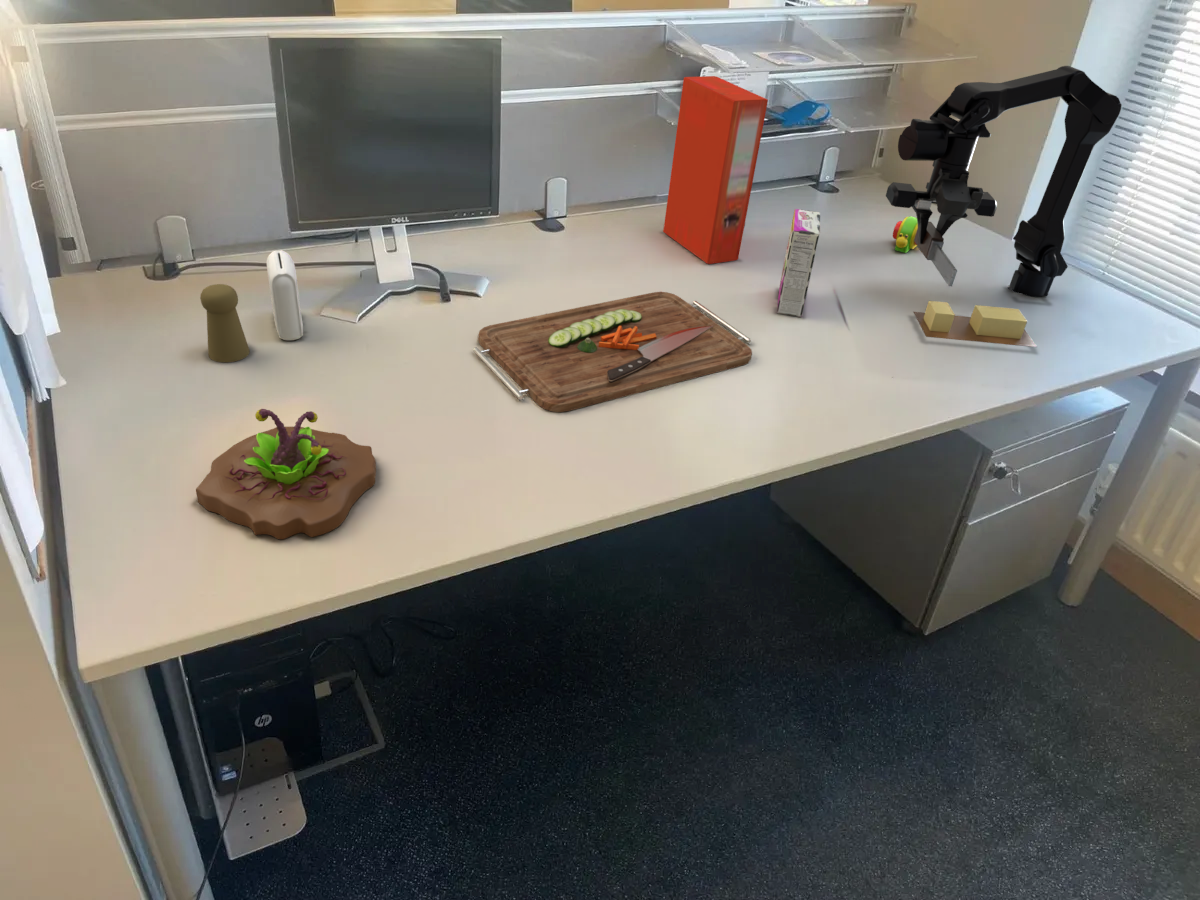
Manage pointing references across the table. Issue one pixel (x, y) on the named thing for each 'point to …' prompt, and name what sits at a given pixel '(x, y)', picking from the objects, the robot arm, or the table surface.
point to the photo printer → (284, 295)
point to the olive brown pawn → (223, 324)
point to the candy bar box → (798, 262)
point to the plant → (288, 479)
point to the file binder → (713, 167)
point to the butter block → (998, 322)
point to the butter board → (970, 333)
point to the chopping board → (610, 349)
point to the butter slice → (938, 316)
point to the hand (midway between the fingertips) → (927, 243)
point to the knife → (936, 253)
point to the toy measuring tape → (905, 234)
